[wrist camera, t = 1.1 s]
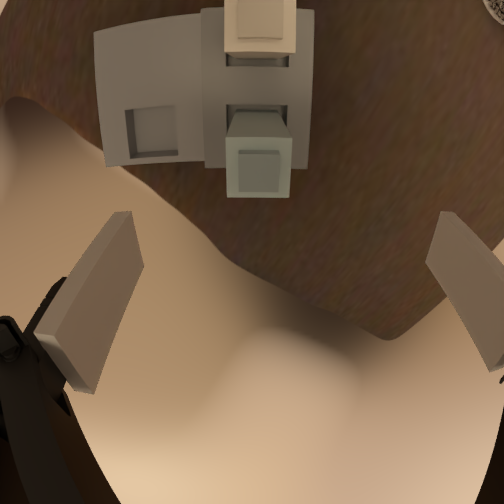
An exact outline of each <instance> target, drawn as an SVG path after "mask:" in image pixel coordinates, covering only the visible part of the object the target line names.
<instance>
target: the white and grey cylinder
mask: <svg viewBox="0 0 504 504" xmlns="http://www.w3.org/2000/svg"><path fill="white" fill-rule="evenodd" d="M482 1H483V3H484V5H485V7H486V9H487V10H488V12H489V13H490V14H491V16H492V17H493V18H494V19H495V20H497V21H498V22H499V23H500V24H502V25H504V0H482Z"/></svg>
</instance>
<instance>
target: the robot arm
mask: <svg viewBox="0 0 504 504" xmlns="http://www.w3.org/2000/svg"><path fill="white" fill-rule="evenodd" d="M425 263H426V264H427V266H428V267H429V269H430V270H431V272H432V273H433V275H434V276H435V278H436V279H437V281H438V282H439V284H440V286H441V287H442V289H443V290H444V292H445V293H446V295H447V297H448V298H449V300H450V301H451V303H452V305H453V306H454V308H455V309H456V311H457V313H458V315H459V316H460V318H461V320H462V322H463V323H464V325H465V327H466V328H467V330H468V332H469V334H470V336H471V338H472V339H473V341H474V343H475V345H476V347H477V348H478V350H479V352H480V354H481V356H482V358H483V360H484V362H485V364H486V366H487V368H488V370H489V372H492V371H495V370H498V369H501V368H503V367H504V265H503V264H502V263H501V262H500V261H499V259H498V258H497V257H496V256H495V255H494V254H493V253H492V252H491V250H490V249H489V248H488V247H487V246H486V245H485V244H484V243H483V242H482V241H481V240H480V239H479V237H478V236H477V235H476V234H475V233H474V232H473V231H472V230H471V229H470V228H469V227H468V226H467V225H466V224H465V223H464V222H463V221H462V220H461V219H460V218H459V217H458V216H457V215H456V214H455V213H454V212H444V211H441V212H440V215H439V219H438V223H437V226H436V230H435V233H434V236H433V240H432V243H431V246H430V249H429V252H428V255H427V258H426V261H425ZM143 268H144V264H143V260H142V256H141V252H140V248H139V244H138V240H137V235H136V231H135V226H134V222H133V217H132V212H131V211H126V212H115V213H114V214H113V215H112V216H111V218H110V219H109V220H108V221H107V223H106V224H105V225H104V227H103V228H102V229H101V231H100V232H99V233H98V235H97V236H96V237H95V239H94V240H93V241H92V243H91V244H90V245H89V247H88V248H87V250H86V251H85V252H84V254H83V255H82V257H81V258H80V259H79V261H78V262H77V264H76V266H75V267H74V268H73V270H72V271H71V272H70V274H69V275H68V277H62V278H61V279H60V280H59V281H58V282H56V283H55V284H54V285H53V286H52V287H51V289H50V290H49V292H48V293H47V295H46V298H45V299H43V301H42V303H41V304H40V307H38V309H37V311H36V312H35V314H34V316H33V317H32V319H31V320H30V322H29V324H28V325H27V327H26V329H25V330H24V332H23V333H22V331H21V330H20V328H19V327H18V325H17V323H16V322H15V320H14V319H13V318H12V317H10V316H1V317H0V504H121V503H120V501H119V500H118V498H117V497H116V495H115V493H114V492H113V490H112V488H111V486H110V485H109V483H108V481H107V480H106V478H105V476H104V474H103V472H102V470H101V469H100V467H99V465H98V463H97V461H96V459H95V457H94V455H93V453H92V451H91V449H90V447H89V445H88V443H87V441H86V439H85V436H84V434H83V432H82V430H81V428H80V426H79V423H78V421H77V418H76V416H75V414H74V411H73V409H72V406H71V404H70V401H69V398H68V396H67V394H66V392H65V391H64V389H63V388H64V385H65V383H66V380H67V382H68V383H69V384H70V385H71V387H72V388H73V389H74V391H79V392H84V393H89V394H94V393H95V390H96V387H97V384H98V381H99V378H100V375H101V373H102V370H103V367H104V364H105V361H106V359H107V356H108V353H109V350H110V348H111V345H112V342H113V340H114V337H115V335H116V332H117V330H118V327H119V324H120V322H121V319H122V317H123V314H124V312H125V310H126V307H127V305H128V302H129V300H130V298H131V295H132V293H133V291H134V288H135V286H136V283H137V281H138V279H139V277H140V275H141V272H142V270H143ZM503 381H504V375H503V377H502V378H501V380H500V382H499V383H500V384H501V383H502V382H503ZM475 504H504V408H503V413H502V417H501V422H500V426H499V431H498V435H497V439H496V442H495V446H494V450H493V453H492V457H491V460H490V463H489V466H488V469H487V472H486V475H485V478H484V481H483V484H482V486H481V489H480V492H479V494H478V497H477V499H476V502H475Z"/></svg>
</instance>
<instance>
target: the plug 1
mask: <svg viewBox="0 0 504 504" xmlns="http://www.w3.org/2000/svg"><path fill="white" fill-rule="evenodd" d="M224 52H225V53H227V54H229V55H230V56H232V57H234V58H235V59H280V58H283V57H286V56H289V55H291V54H294V53H295V52H296V0H224Z"/></svg>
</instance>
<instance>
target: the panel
mask: <svg viewBox="0 0 504 504" xmlns="http://www.w3.org/2000/svg"><path fill="white" fill-rule="evenodd" d="M313 54H314V10H309V9H298V8H296V52H295V53H294V54H291V55H289V56H286V57H283V58H280V59H235V58H234V57H232V56H230V55H229V54H227V53H225V52H224V7H215V8H201V13H198V14H187V15H178V16H171V17H163V18H157V19H151V20H145V21H140V22H135V23H130V24H125V25H120V26H116V27H112V28H108V29H104V30H100V31H96V32H94V59H95V77H96V90H97V102H98V111H99V120H100V129H101V136H102V144H103V150H104V157H105V163H106V167H112V166H123V165H135V164H149V163H165V162H186V161H205V168H226V140H225V137H226V135H227V132H228V129H229V127H230V124H231V122H232V119H233V117H234V114H235V111H236V109H266V110H277V111H278V113H279V115H280V116H281V118H282V120H283V122H284V124H285V125H286V127H287V129H288V131H289V133H290V135H291V136H292V156H291V169H307V166H308V152H309V137H310V121H311V103H312V82H313Z"/></svg>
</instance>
